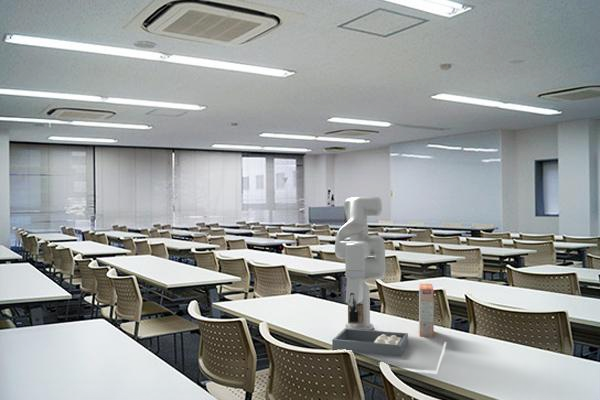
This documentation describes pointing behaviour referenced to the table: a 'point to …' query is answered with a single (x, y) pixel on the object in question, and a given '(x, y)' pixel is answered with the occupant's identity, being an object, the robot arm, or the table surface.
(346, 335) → the tray
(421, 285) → the cracker box
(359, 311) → the walnut block
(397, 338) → the egg carton
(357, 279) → the robot arm
